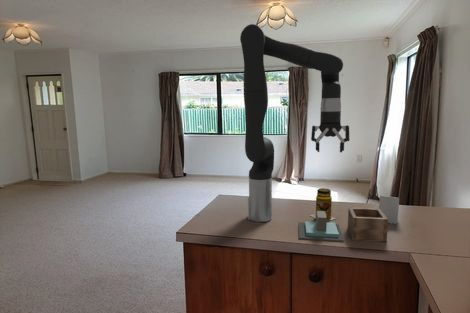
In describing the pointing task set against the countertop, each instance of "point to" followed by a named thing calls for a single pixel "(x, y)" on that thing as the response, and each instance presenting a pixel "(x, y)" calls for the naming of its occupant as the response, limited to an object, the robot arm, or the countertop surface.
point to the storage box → (367, 224)
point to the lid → (321, 226)
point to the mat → (303, 236)
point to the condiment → (324, 203)
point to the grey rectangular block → (390, 208)
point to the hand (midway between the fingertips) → (329, 152)
